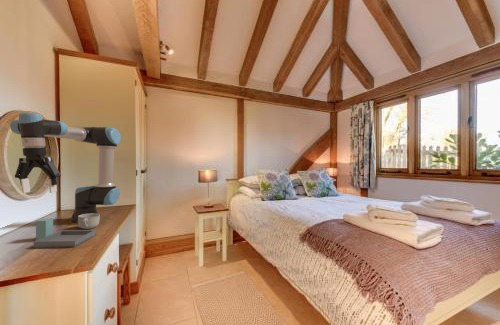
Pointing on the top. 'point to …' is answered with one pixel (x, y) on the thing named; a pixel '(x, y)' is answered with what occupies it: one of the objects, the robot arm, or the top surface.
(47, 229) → the teal block
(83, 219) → the teacup
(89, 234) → the tray
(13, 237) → the top surface
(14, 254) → the top surface
